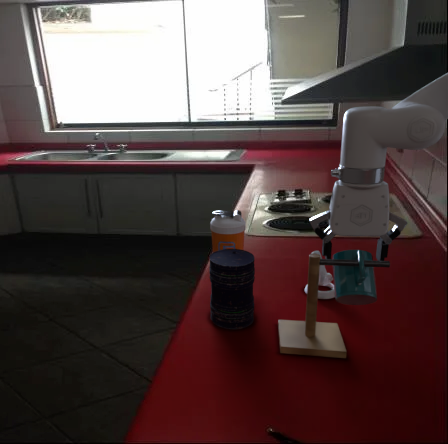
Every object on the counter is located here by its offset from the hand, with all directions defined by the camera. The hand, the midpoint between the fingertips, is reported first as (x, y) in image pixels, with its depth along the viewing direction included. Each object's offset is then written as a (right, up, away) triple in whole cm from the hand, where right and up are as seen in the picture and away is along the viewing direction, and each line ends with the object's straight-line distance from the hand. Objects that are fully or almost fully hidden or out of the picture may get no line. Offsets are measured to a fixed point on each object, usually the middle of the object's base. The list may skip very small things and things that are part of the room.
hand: (353, 259), depth 83 cm
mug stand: (-5, -17, +1) cm, 17 cm away
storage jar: (-22, -14, +12) cm, 29 cm away
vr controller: (+2, -10, +21) cm, 24 cm away
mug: (-1, -7, -4) cm, 8 cm away
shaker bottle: (-20, -9, +28) cm, 36 cm away
